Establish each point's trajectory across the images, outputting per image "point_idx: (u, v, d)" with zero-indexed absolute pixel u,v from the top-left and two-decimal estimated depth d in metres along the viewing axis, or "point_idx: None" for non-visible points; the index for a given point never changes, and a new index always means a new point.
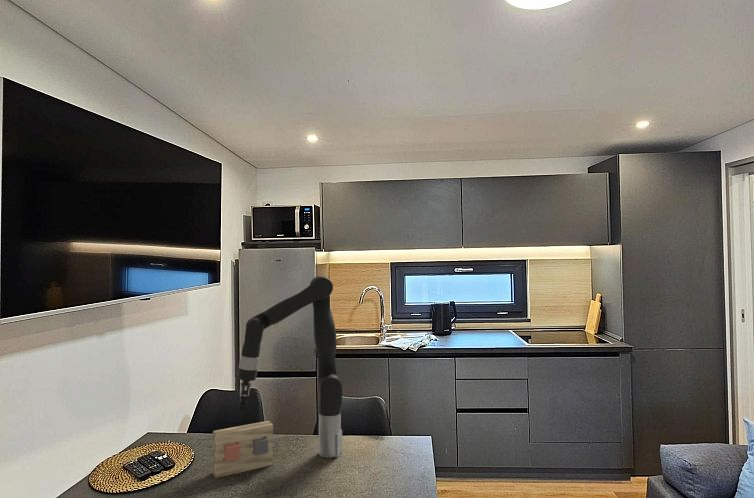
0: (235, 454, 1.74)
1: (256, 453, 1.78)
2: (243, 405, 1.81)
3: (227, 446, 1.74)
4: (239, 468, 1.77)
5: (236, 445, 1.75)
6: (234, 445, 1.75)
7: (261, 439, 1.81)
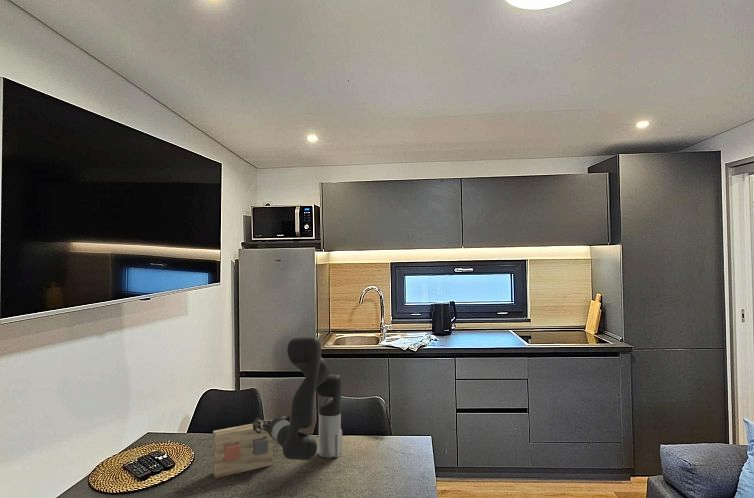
0: (235, 454, 1.74)
1: (256, 453, 1.78)
2: None
3: (227, 446, 1.74)
4: (239, 468, 1.77)
5: (236, 445, 1.75)
6: (234, 445, 1.75)
7: (261, 439, 1.81)
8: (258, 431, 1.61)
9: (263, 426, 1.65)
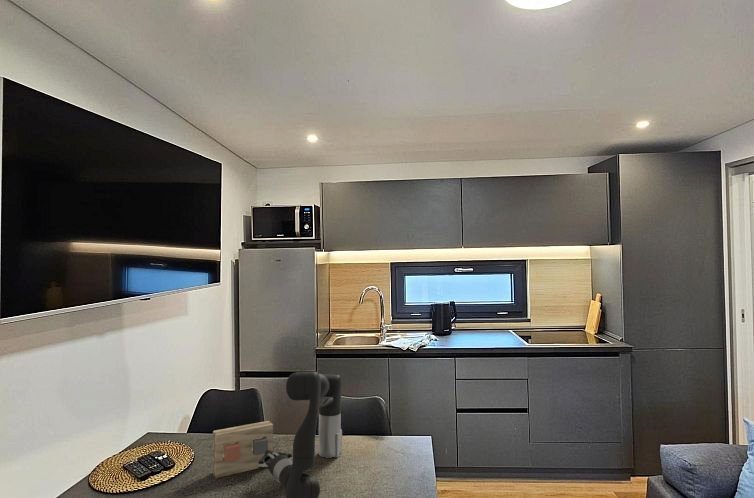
0: (235, 454, 1.74)
1: (256, 453, 1.78)
2: None
3: (227, 446, 1.74)
4: (239, 468, 1.77)
5: (236, 445, 1.75)
6: (234, 445, 1.75)
7: (261, 439, 1.81)
8: None
9: None
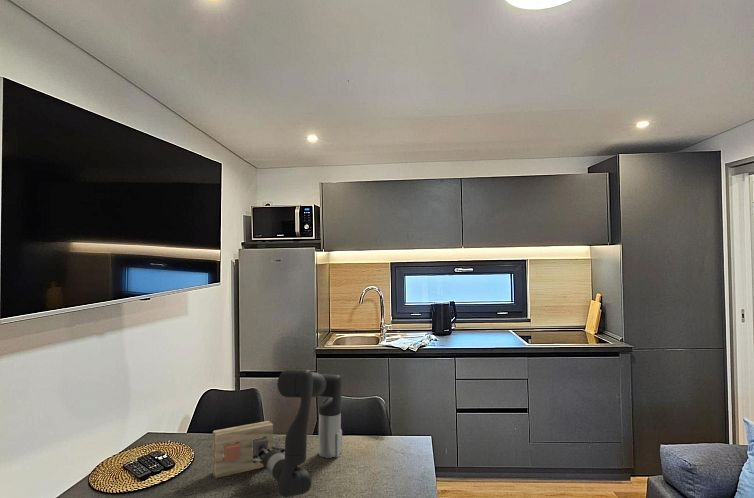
0: (235, 454, 1.74)
1: None
2: None
3: (227, 446, 1.74)
4: (239, 468, 1.77)
5: (236, 445, 1.75)
6: (234, 445, 1.75)
7: (261, 439, 1.81)
8: (253, 461, 1.68)
9: None
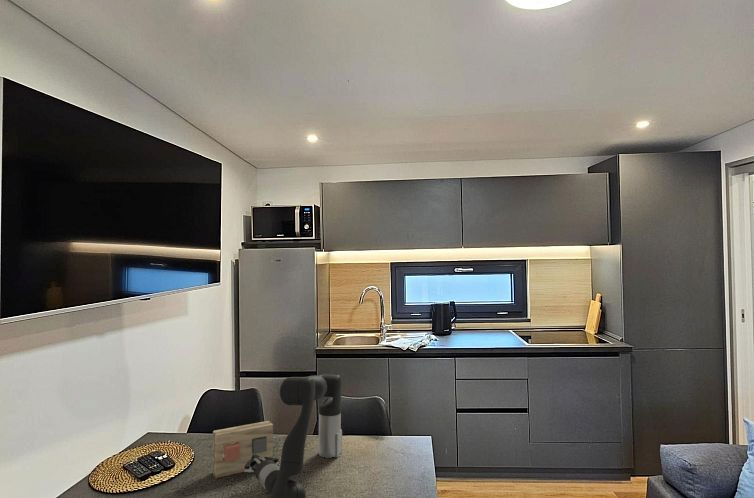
0: (235, 454, 1.74)
1: (255, 451, 1.79)
2: None
3: (227, 446, 1.74)
4: (239, 468, 1.77)
5: (236, 445, 1.75)
6: (234, 445, 1.75)
7: (260, 438, 1.82)
8: (244, 472, 1.59)
9: None
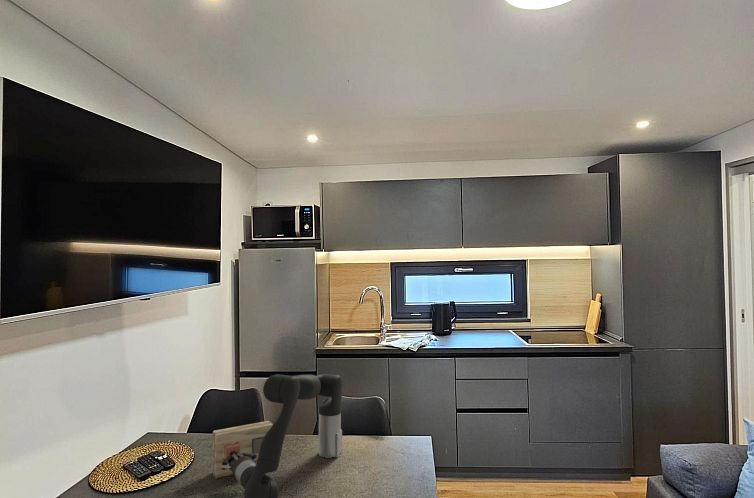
0: None
1: (255, 451, 1.79)
2: None
3: (227, 446, 1.74)
4: None
5: (236, 445, 1.75)
6: (234, 445, 1.75)
7: (260, 438, 1.82)
8: (222, 468, 1.63)
9: None
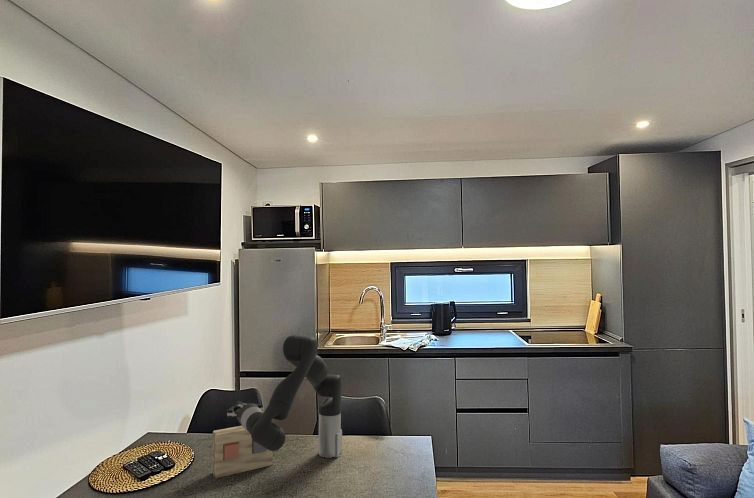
0: (234, 452, 1.75)
1: (255, 451, 1.79)
2: None
3: (226, 445, 1.75)
4: (239, 468, 1.77)
5: (235, 444, 1.76)
6: (232, 444, 1.76)
7: None
8: (227, 416, 1.57)
9: None
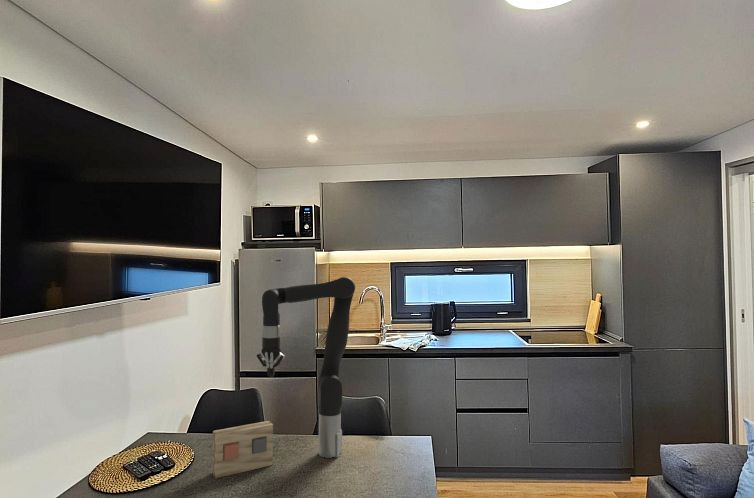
0: (234, 452, 1.75)
1: (255, 451, 1.79)
2: (274, 371, 1.97)
3: (226, 445, 1.75)
4: (239, 468, 1.77)
5: (235, 444, 1.76)
6: (232, 444, 1.76)
7: (260, 438, 1.82)
8: None
9: None
